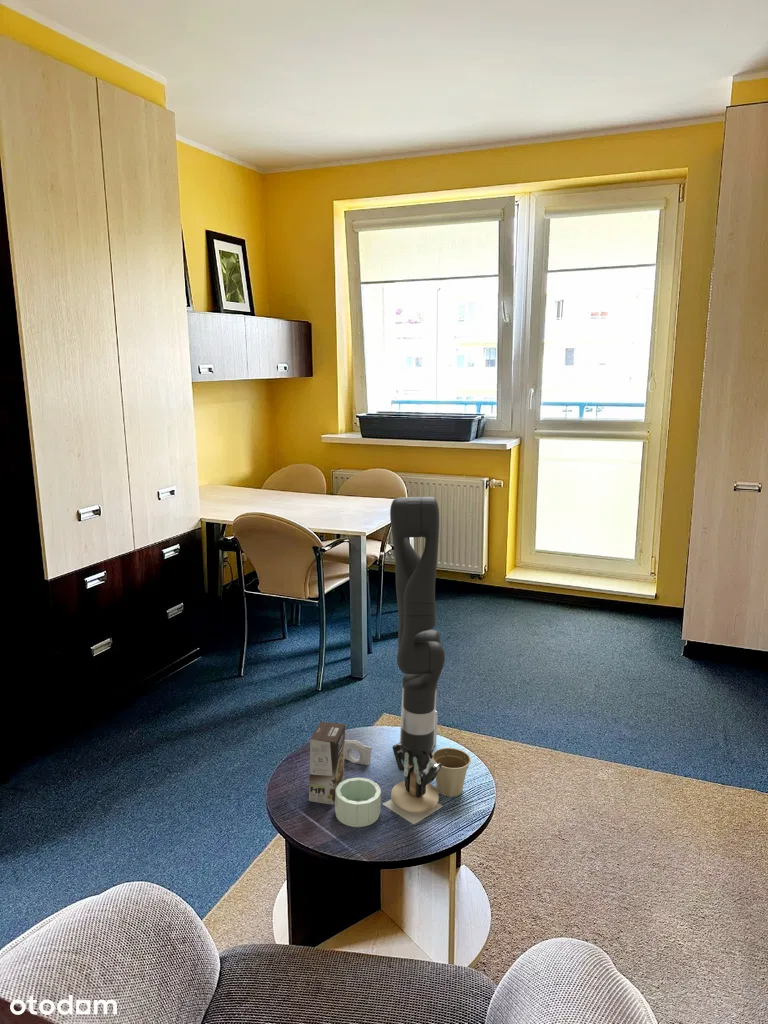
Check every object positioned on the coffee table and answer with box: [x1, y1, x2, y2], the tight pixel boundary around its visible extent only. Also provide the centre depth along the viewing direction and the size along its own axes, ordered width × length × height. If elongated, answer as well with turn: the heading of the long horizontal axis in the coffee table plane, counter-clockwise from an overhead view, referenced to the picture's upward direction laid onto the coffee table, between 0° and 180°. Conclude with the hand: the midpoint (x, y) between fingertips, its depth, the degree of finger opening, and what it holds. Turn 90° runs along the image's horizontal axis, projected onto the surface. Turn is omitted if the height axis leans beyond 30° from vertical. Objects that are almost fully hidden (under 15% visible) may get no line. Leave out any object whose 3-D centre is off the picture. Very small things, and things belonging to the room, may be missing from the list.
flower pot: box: [432, 747, 472, 798], centre depth 168 cm, size 9×9×9 cm
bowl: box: [334, 777, 382, 828], centre depth 158 cm, size 10×10×6 cm
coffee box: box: [308, 721, 346, 806], centre depth 164 cm, size 9×6×16 cm
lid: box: [390, 771, 440, 813], centre depth 161 cm, size 11×11×6 cm
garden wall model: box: [344, 739, 373, 766], centre depth 180 cm, size 12×2×6 cm, turn 63°
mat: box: [382, 799, 444, 825], centre depth 162 cm, size 10×10×1 cm
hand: (414, 792), depth 162 cm, fingers closed on lid, 2 cm apart
